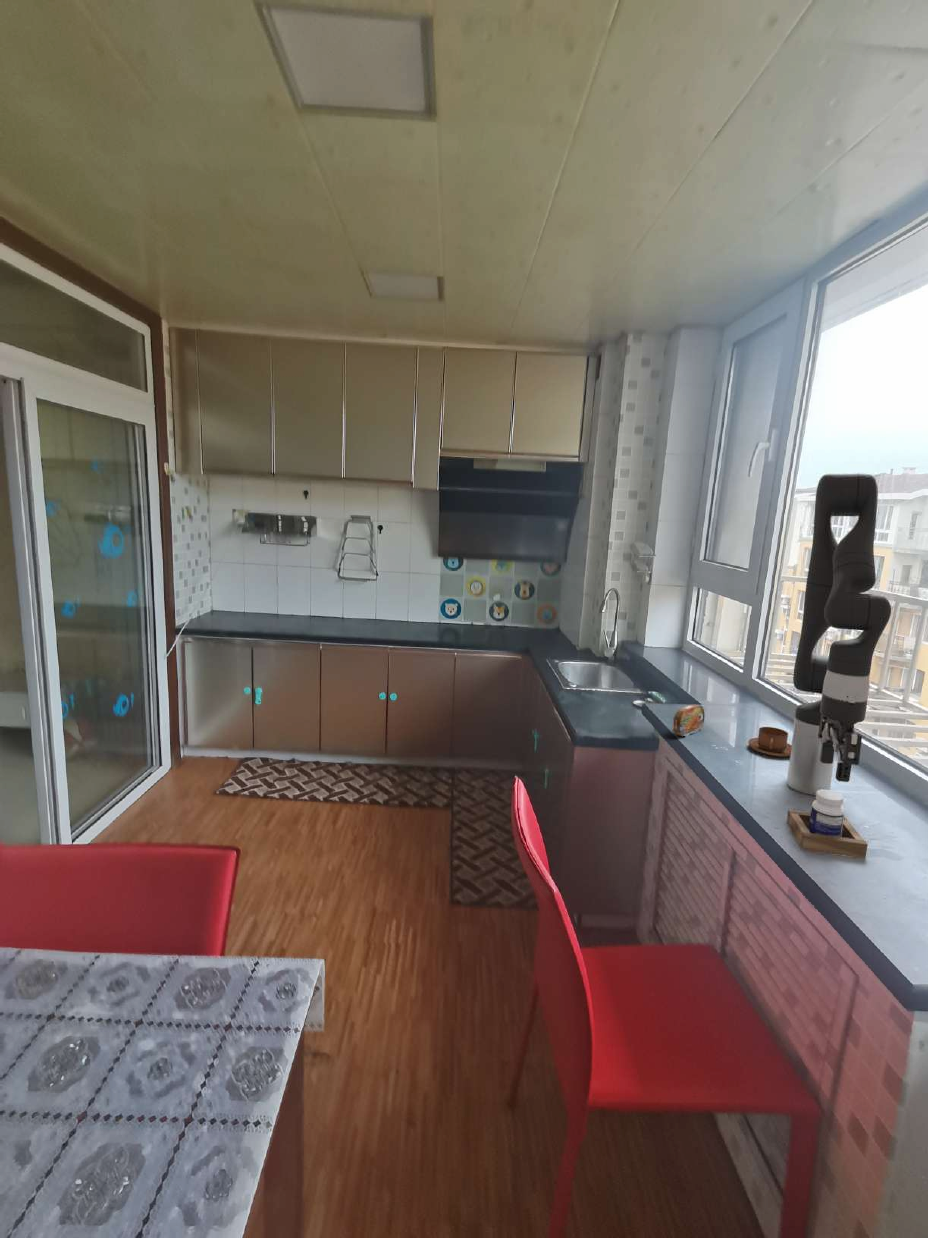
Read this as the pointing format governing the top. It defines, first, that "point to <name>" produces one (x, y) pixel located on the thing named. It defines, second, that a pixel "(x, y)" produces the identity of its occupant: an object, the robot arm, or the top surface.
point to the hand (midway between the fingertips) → (833, 771)
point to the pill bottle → (827, 814)
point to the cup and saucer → (771, 742)
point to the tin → (688, 719)
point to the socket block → (826, 837)
